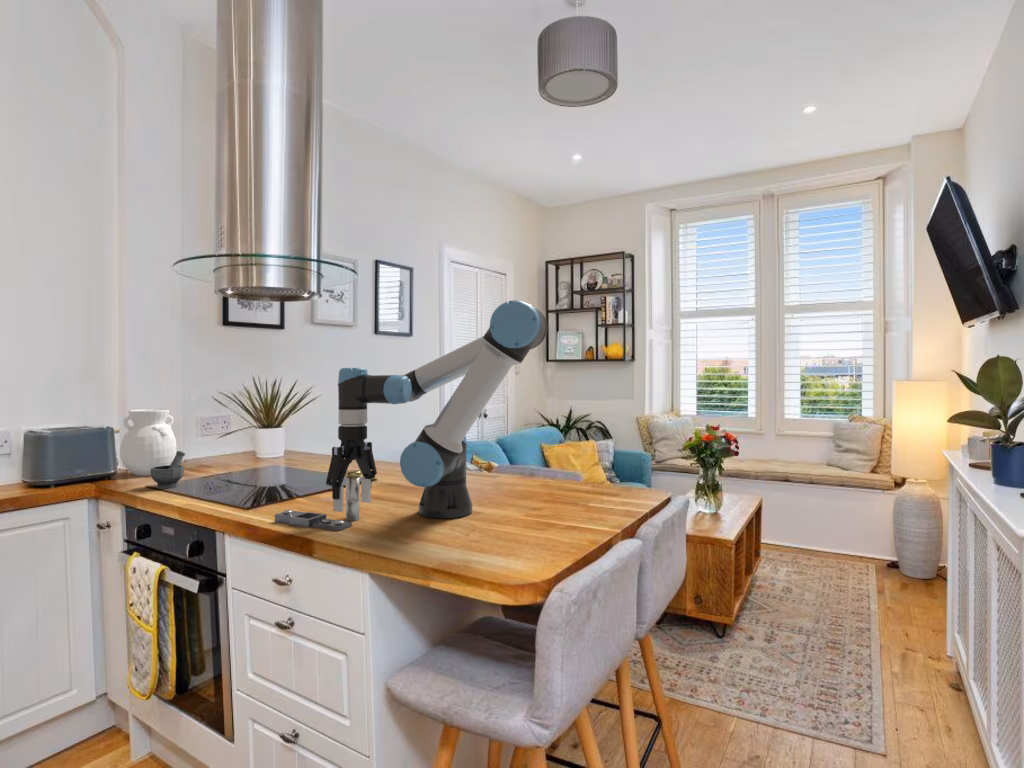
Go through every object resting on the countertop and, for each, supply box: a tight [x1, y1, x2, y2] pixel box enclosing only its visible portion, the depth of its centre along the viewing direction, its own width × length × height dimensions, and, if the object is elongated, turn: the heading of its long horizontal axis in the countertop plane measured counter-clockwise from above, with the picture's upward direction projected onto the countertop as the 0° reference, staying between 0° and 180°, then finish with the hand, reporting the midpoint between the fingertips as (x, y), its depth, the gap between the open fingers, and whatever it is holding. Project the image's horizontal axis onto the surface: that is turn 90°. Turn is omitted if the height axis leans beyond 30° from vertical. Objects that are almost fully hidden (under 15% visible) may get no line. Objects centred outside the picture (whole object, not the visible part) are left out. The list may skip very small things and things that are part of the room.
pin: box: [345, 469, 362, 522], centre depth 152 cm, size 4×4×13 cm
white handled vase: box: [119, 408, 177, 477], centre depth 219 cm, size 19×18×25 cm
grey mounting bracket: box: [274, 509, 353, 532], centre depth 147 cm, size 21×6×3 cm, turn 67°
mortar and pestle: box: [150, 450, 186, 490], centre depth 195 cm, size 11×9×12 cm
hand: (352, 506), depth 152 cm, fingers open, 11 cm apart
